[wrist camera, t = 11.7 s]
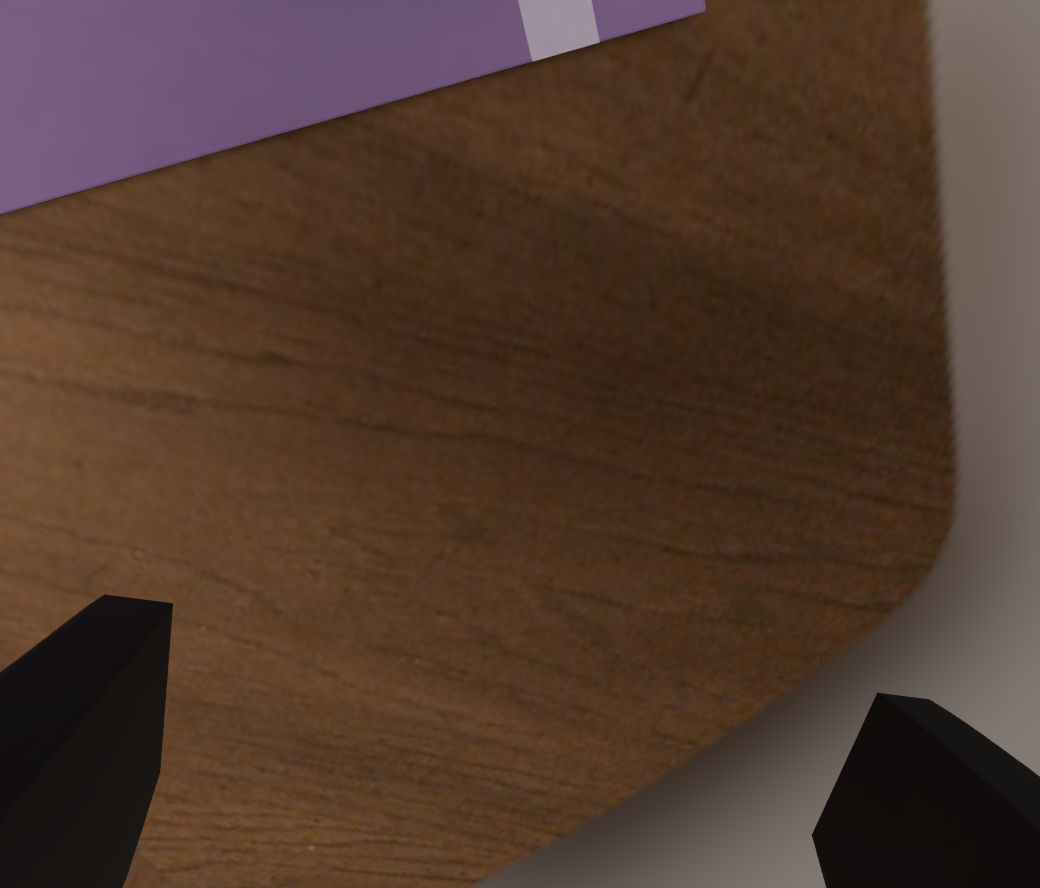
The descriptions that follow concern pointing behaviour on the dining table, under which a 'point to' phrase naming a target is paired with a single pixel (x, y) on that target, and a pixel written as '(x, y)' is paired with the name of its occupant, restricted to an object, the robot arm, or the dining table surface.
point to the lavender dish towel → (247, 71)
